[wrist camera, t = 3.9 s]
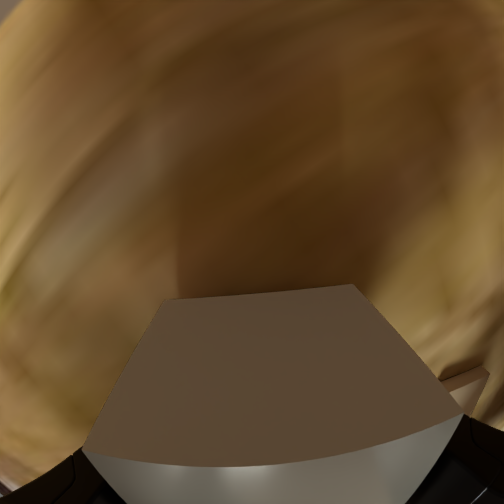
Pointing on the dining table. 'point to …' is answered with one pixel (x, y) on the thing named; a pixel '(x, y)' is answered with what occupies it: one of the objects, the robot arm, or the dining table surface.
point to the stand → (467, 388)
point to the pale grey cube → (272, 405)
